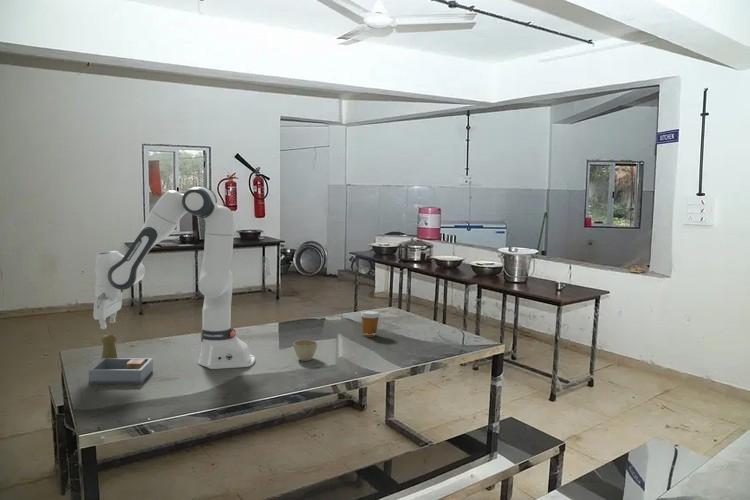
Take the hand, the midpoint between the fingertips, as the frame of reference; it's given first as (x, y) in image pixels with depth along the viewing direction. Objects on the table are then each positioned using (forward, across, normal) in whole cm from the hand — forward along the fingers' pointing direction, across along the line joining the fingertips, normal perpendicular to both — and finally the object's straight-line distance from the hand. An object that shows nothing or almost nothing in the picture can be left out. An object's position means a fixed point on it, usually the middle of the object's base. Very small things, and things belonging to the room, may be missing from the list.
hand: (108, 325), depth 219 cm
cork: (+15, 0, 0) cm, 15 cm away
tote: (+15, -18, -12) cm, 26 cm away
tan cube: (+14, -18, -16) cm, 28 cm away
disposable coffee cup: (+14, +42, -109) cm, 118 cm away
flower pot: (+14, +4, -78) cm, 80 cm away
